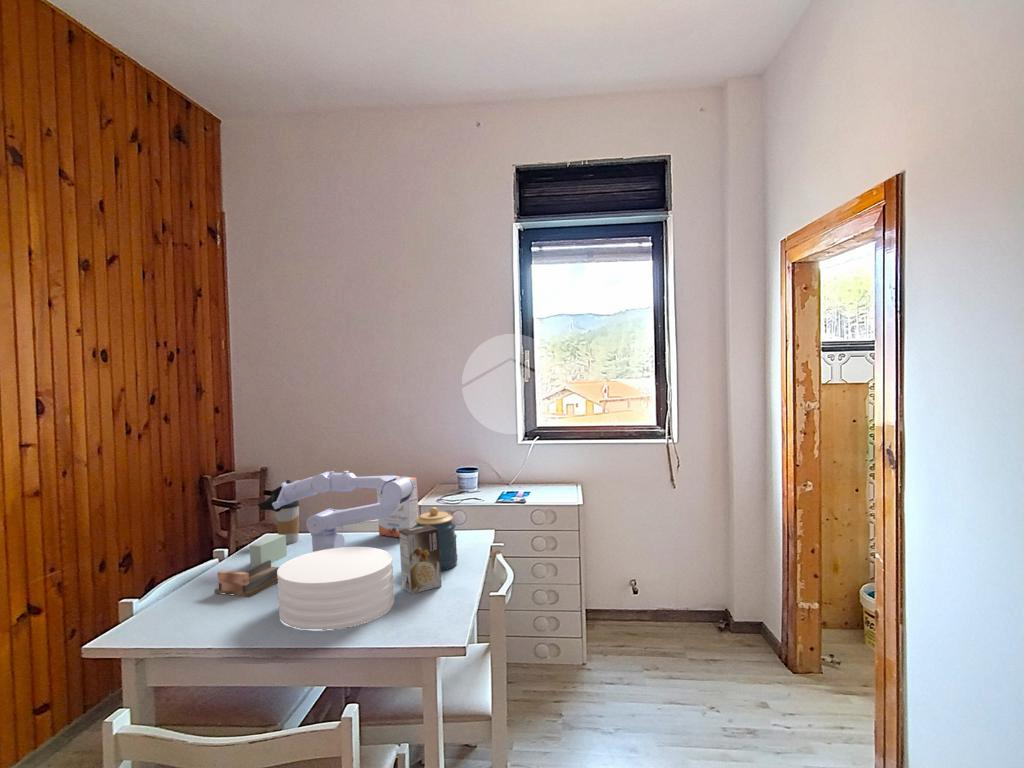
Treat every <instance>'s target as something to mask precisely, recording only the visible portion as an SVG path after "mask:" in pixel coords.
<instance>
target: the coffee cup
mask: <svg viewBox="0 0 1024 768" xmlns="http://www.w3.org/2000/svg"><path fill="white" fill-rule="evenodd" d="M275 520H276V528H277V535H286V545H292V544H295V543H297V542H298V540H299V529H300V501H299V500H297V501H294V502H292V503H289V504H286V505H283V506H281V510H280V511H279V512H275Z"/></svg>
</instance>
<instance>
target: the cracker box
mask: <svg viewBox="0 0 1024 768" xmlns="http://www.w3.org/2000/svg"><path fill="white" fill-rule="evenodd" d="M400 477H401V476H399V477H397V478H396V479H398V478H400ZM407 477H408V476H407ZM408 478H410V479H411V480H412V481H413V484H414V490H413V493H412V495H411V498H410V499H409V500H407V501H406V502H405V503H404V504H403V505H402V506H401V508H400V509H399V510H398V511H397V512H396V513H395V514H393V515H392V516H390V517H387V518H381V519H377V520H378V534H379V535H378V536H382V535H388V536H387V537H389V536H396V537H395V538H397V537H399V530H404V529H409V528H413V527H414V526H415V525H416V524H417V523H416V522H415V519H416V518H418V517H419V516H420V515H419V500H418V499H419V497H418V496H419V495H418V493H419V492H418V478H417V477H411V476H410V477H408ZM376 496H377V498H376V499H377V503H381V500H382V494H379V492H378V490H377V489H376Z"/></svg>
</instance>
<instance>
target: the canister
mask: <svg viewBox="0 0 1024 768" xmlns="http://www.w3.org/2000/svg"><path fill="white" fill-rule="evenodd" d="M428 511H429V512H424V513H421V514H420V515H419V517H418V518H416V519H415V522H416V523H417V524H416V525H415V526H414V527H419V526H424V525H430V526H433V527H435V528H438V536H439V552H440V568H441V572H442V571H446V570H450V569H453V568H454V567H456V565H457V564H458V553H457V550H458V549H457V538H458V537H457V534H456V532H455V529H456V528H457V524H456V522H454V521H453V519H454V516H453V515H451V514H450V513H448V512H446V511H439V509H438V507H435V506H432V507H430V508H429V510H428ZM414 527H413V528H414Z"/></svg>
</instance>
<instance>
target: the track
mask: <svg viewBox="0 0 1024 768" xmlns="http://www.w3.org/2000/svg"><path fill="white" fill-rule="evenodd" d="M279 567H280V566H272V563H271V560H267V561H265V562H263V563H261V564H259V565H256V566H254V567H250V568H248V569H246V570H244V571H233V570H220V571H218V572H217V579H218V580H217V582H218V583H217V584H218V588H216V589H214V594H215V593H225V594H234V595H233V596H236V595H244V596H243V597H246V596H251V597H253V596H255V595H256V593H257V594H259V593H261V592H262V590H263V591H264V589H265V590H266V589H268V588H270V587H272V586H274V585H276V584H278V583H277V582H278V578H277V570H278V568H279ZM260 591H261V592H260ZM258 592H259V593H258ZM225 594H224V595H225ZM254 594H255V595H254ZM252 595H253V596H252Z"/></svg>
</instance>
